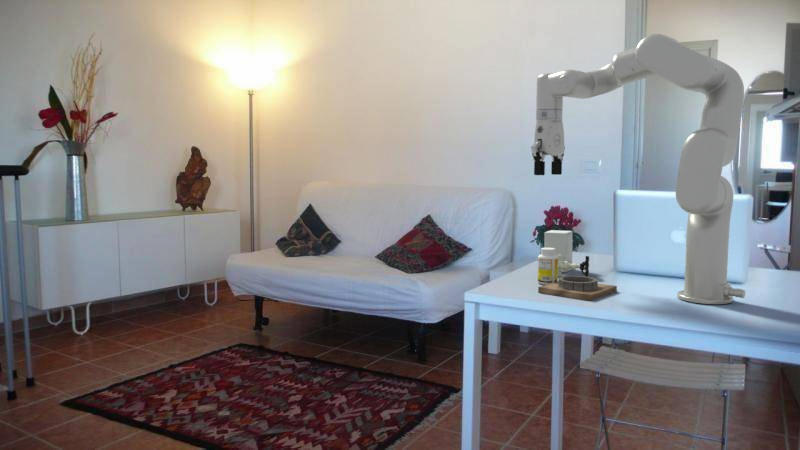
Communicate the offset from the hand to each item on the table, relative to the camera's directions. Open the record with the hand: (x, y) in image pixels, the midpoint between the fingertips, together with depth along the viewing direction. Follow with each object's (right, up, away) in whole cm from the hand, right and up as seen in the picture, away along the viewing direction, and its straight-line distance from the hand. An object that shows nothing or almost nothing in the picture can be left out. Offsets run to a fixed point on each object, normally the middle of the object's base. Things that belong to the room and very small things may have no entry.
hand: (548, 174), depth 182 cm
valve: (+7, -31, +5) cm, 32 cm away
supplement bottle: (-2, -32, -6) cm, 33 cm away
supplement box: (+7, -30, +16) cm, 35 cm away
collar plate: (+4, -33, -18) cm, 38 cm away
